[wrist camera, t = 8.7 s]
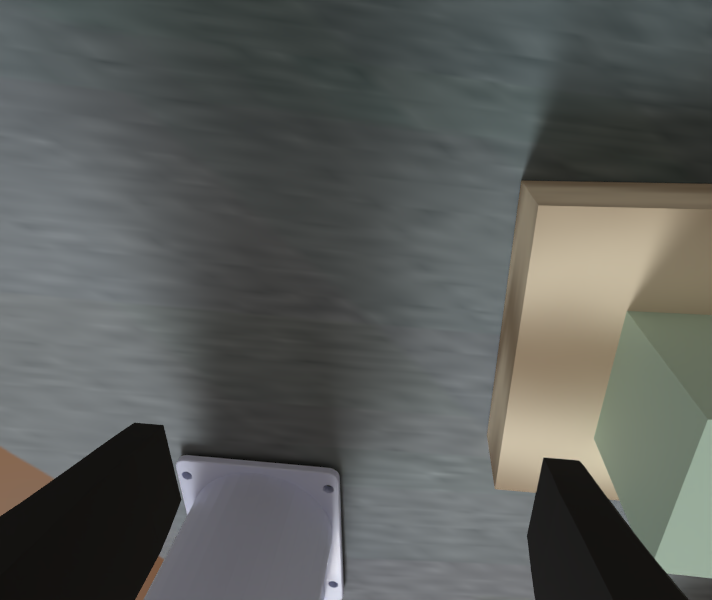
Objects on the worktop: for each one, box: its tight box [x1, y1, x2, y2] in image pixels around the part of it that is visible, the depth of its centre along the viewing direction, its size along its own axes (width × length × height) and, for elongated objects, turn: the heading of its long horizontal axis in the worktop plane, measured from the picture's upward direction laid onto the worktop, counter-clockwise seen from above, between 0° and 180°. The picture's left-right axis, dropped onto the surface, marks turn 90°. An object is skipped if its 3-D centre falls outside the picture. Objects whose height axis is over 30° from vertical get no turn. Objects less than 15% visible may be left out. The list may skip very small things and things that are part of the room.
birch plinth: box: [487, 181, 712, 500], centre depth 17 cm, size 11×11×3 cm
